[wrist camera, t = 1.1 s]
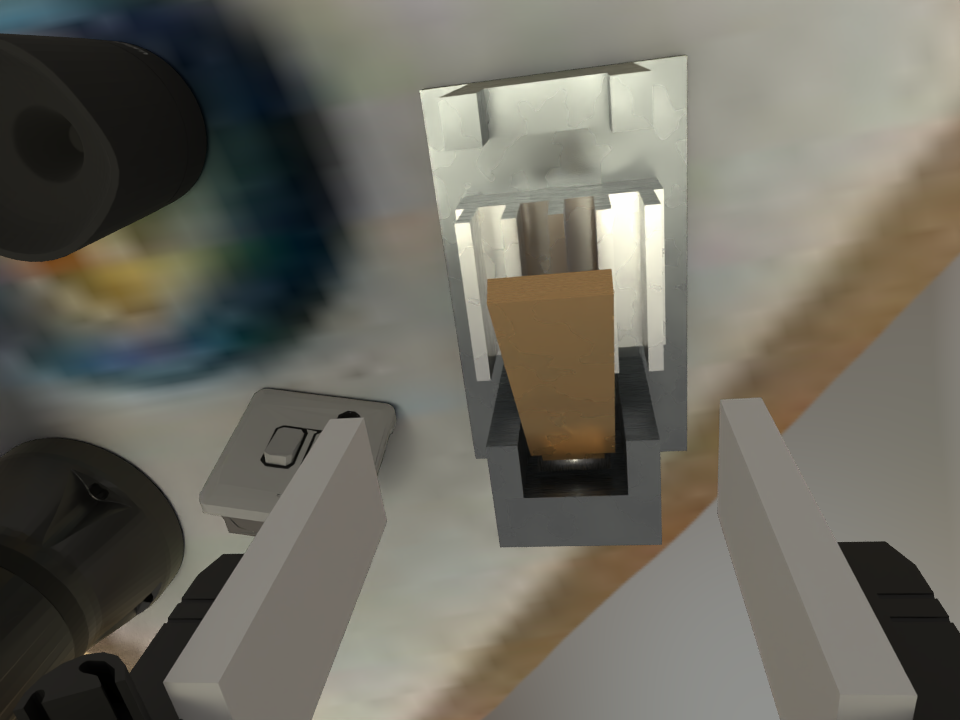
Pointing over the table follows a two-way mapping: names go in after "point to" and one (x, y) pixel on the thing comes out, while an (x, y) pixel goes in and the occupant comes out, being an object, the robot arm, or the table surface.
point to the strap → (560, 363)
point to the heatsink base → (565, 154)
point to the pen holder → (88, 141)
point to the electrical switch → (280, 451)
